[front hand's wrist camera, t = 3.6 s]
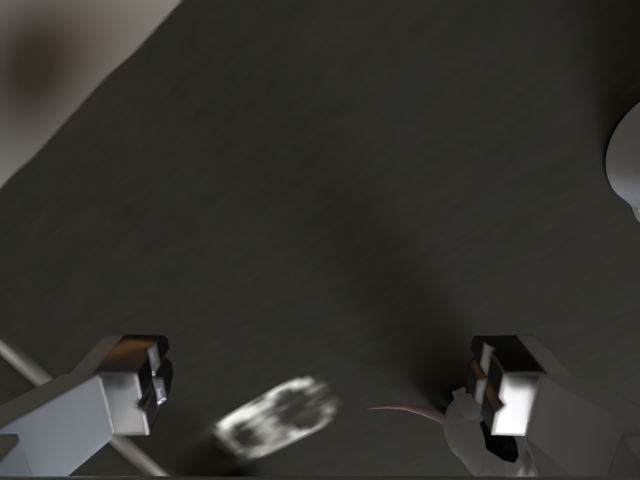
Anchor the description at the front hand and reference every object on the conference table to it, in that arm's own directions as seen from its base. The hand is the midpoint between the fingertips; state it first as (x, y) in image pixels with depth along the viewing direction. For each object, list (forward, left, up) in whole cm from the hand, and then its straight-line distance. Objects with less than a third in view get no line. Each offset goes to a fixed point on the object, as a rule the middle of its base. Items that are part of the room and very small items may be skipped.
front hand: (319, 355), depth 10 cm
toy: (-18, +39, -40) cm, 58 cm away
